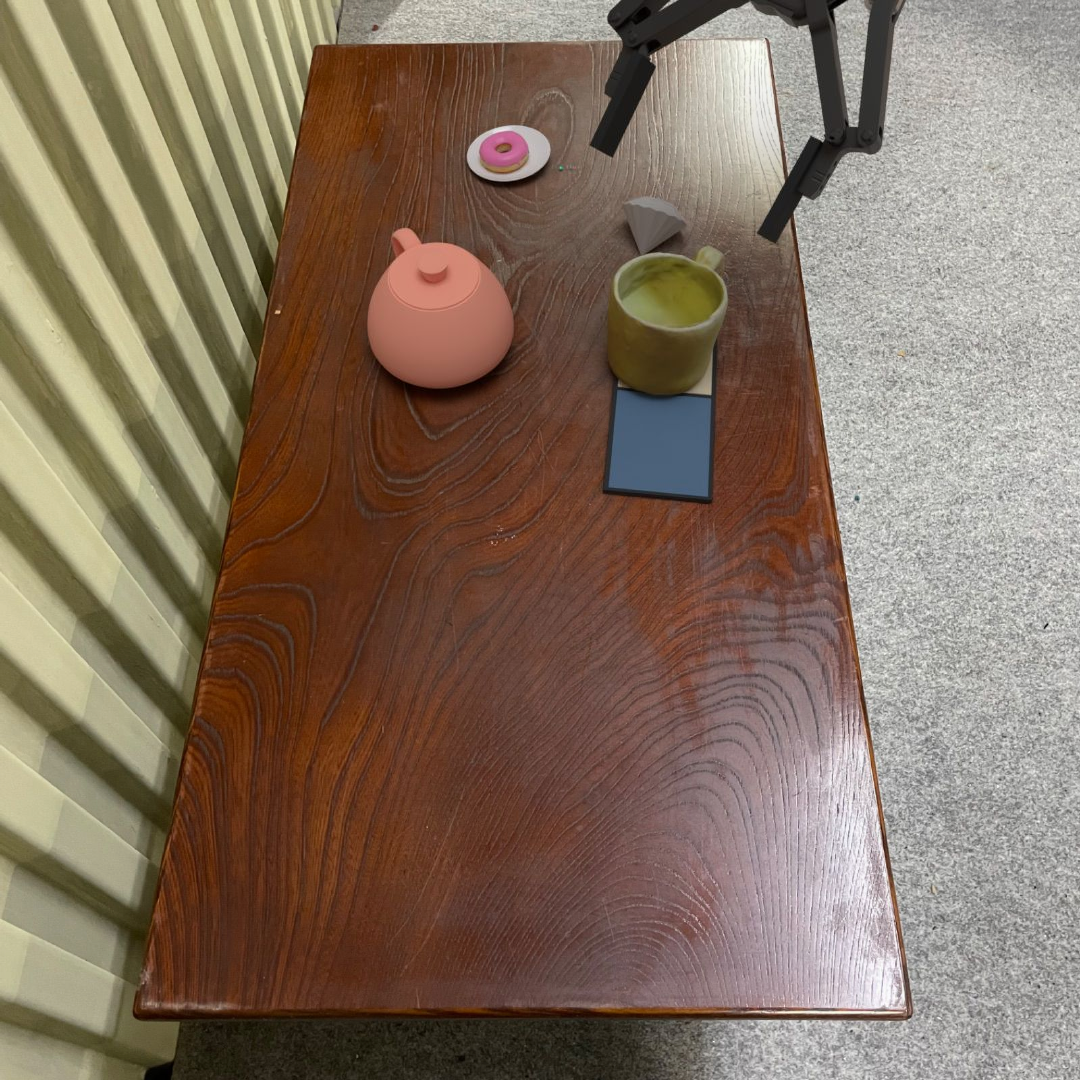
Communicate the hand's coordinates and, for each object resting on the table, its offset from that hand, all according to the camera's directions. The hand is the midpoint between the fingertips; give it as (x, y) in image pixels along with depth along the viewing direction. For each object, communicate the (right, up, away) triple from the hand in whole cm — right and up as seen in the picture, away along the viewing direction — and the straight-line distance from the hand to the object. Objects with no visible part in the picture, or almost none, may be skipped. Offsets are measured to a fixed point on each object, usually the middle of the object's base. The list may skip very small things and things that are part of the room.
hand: (680, 194), depth 64 cm
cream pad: (+1, -7, +17) cm, 19 cm away
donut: (-11, +14, +29) cm, 34 cm away
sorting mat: (+1, -12, +15) cm, 19 cm away
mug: (+1, -7, +17) cm, 18 cm away
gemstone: (+1, +5, +24) cm, 24 cm away
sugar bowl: (-18, -6, +18) cm, 26 cm away
